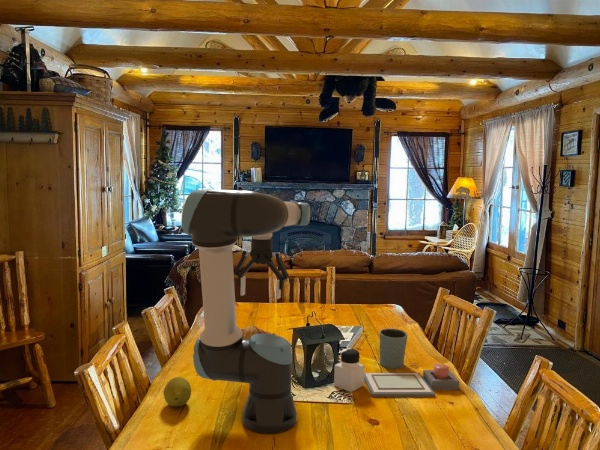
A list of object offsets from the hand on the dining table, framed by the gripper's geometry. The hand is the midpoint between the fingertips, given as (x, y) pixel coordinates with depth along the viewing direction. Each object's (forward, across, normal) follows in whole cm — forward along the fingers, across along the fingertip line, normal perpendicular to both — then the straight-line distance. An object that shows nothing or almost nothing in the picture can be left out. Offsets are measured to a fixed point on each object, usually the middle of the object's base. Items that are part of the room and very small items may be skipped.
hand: (260, 296), depth 174 cm
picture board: (+24, -50, +3) cm, 55 cm away
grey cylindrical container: (+24, -46, -15) cm, 55 cm away
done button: (+22, -63, -2) cm, 67 cm away
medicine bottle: (+25, -34, +9) cm, 43 cm away
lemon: (+25, +11, +39) cm, 47 cm away
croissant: (+24, +12, -20) cm, 34 cm away
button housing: (+24, -63, -2) cm, 68 cm away
